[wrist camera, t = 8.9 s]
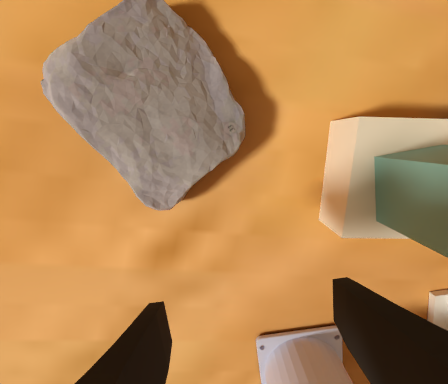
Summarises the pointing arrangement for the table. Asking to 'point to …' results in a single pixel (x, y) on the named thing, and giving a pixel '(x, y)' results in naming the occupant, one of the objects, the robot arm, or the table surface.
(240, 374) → the table surface
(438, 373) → the robot arm
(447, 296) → the placard
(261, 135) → the table surface
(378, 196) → the teal block
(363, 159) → the cream base block
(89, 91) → the stone block
